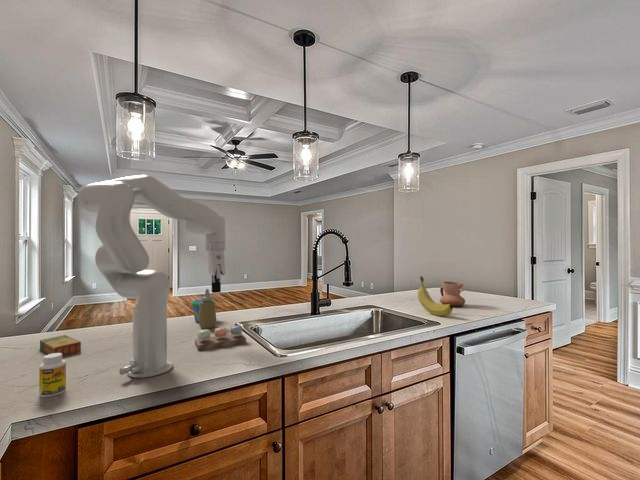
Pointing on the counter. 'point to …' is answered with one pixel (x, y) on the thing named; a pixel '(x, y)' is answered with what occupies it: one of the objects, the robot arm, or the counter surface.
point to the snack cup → (196, 308)
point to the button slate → (236, 329)
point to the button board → (220, 341)
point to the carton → (60, 345)
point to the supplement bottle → (52, 375)
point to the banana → (432, 302)
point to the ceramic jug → (452, 294)
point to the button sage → (203, 334)
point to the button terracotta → (220, 331)
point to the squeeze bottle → (207, 312)
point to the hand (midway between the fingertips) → (216, 292)
